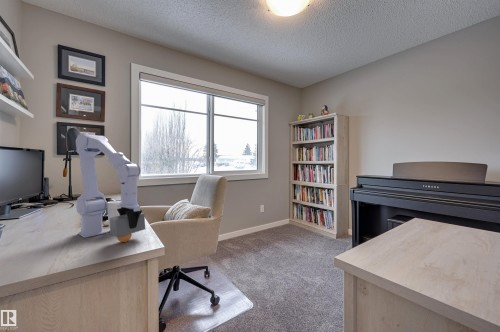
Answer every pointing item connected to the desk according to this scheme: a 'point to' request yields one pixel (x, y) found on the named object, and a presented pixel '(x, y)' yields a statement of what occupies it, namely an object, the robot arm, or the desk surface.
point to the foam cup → (113, 210)
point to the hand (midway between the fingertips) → (129, 226)
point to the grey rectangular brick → (125, 225)
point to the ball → (124, 238)
